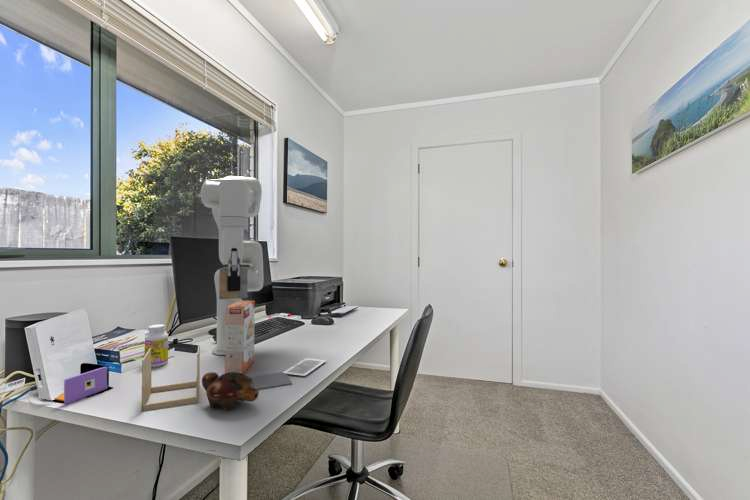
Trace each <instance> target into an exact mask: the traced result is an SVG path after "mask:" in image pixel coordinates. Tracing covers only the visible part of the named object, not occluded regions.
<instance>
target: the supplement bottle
mask: <svg viewBox="0 0 750 500" xmlns="http://www.w3.org/2000/svg"><path fill="white" fill-rule="evenodd" d="M165 329H166V325H165V324H160V323H159V324H152V325H149V326H148V328H147V330H148V334H146V335H145V336H144V356H145V355H146V353H147V352H148V350H149V348H151V368H157V367H161V366H162V367H163V366H165V365H167V363H168V362H169V334H168V333H167V332H166V331H165Z"/></svg>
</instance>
